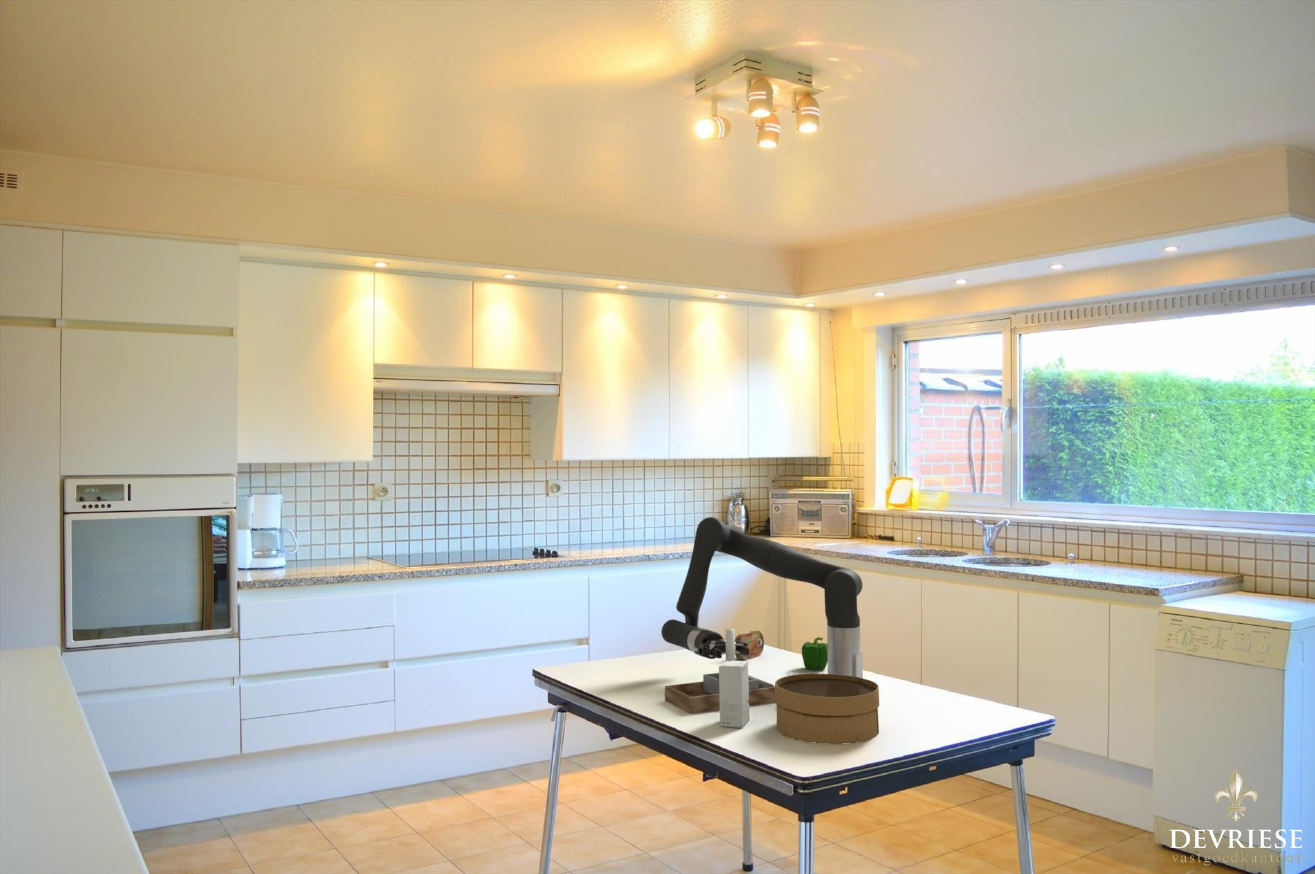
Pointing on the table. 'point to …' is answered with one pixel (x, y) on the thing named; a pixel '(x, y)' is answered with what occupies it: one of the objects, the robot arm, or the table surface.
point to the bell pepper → (815, 655)
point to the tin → (751, 644)
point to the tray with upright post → (713, 679)
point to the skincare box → (734, 694)
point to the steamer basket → (827, 708)
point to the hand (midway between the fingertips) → (734, 653)
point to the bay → (712, 696)
